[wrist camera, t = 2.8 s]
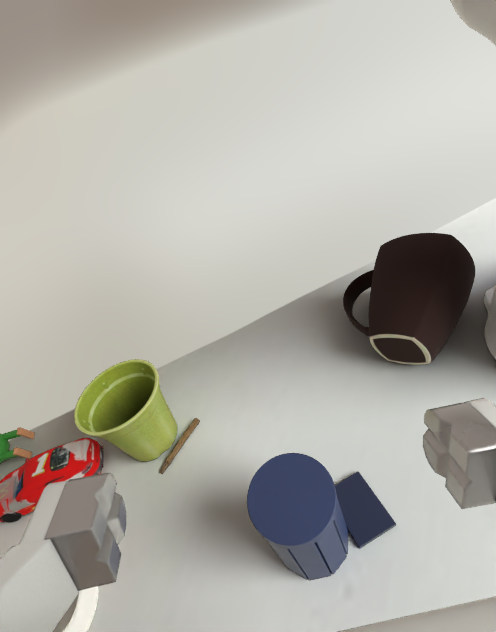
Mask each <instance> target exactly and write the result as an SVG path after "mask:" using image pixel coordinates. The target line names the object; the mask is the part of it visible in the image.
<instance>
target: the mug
mask: <svg viewBox="0 0 496 632" xmlns="http://www.w3.org/2000/svg"><path fill="white" fill-rule="evenodd" d="M474 277H475V265H474V262H473V259H472V257H471V255H470V253H469V252H468V251H467V249H466V248H465V247H464V246H463V245H462V244H461V243H460V242H459V241H458V240H457V239H456V238H455V237H453V236H452V235H448V234H440V233H420V234H411V235H406V236H402V237H399V238H396V239H393V240H391V241H389V242H387V243H385V244H383V245H382V246H381V247H380V249H379V252H378V256H377V259H376V262H375V267H374V270H372V271H369V272H367V273H365V274H363V275H361V276H359V277H358V278H356V279H355V280H354V281H353V282H352V283H351V284H350V285H349V286H348V287H347V289H346V291H345V293H344V298H343V303H344V309H345V311H346V314H347V316H348V318H349V319H350V321H351V322H352V324H353V325H354V326H355V327H356V328H357V329H358V330H360V331H361V332H362V333H364V334H365V335H366V336H368V337H369V339H370V342H371V345H372V346H373V348H374V349H375V350H376V351H377V352H378V353H379V354H380V355H381V356H382V357H384V358H385V359H386V360H388V361H393V362H397V363H403V364H414V365H418V364H429V363H431V362H432V361H433V360H434V358H435V357H436V356H437V354H438V353H439V352H440V350H441V349H442V348H443V346H444V345H445V343H446V342H447V340H448V338H449V337H450V335H451V333H452V332H453V330H454V328H455V326H456V324H457V322H458V320H459V318H460V316H461V314H462V312H463V310H464V308H465V306H466V303H467V301H468V298H469V295H470V292H471V289H472V286H473V282H474ZM370 287H371V293H370V303H369V327H365V326H363V325H361V324H359V323H358V322H357V320H356V319H355V318H354V317H353V314H352V308H353V304H354V302H355V300H356V299H357V297H358V296H359V295H360V294H361V293H362V292H363V291H365V290H366V289H368V288H370Z"/></svg>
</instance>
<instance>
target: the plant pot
mask: <svg viewBox="0 0 496 632" xmlns="http://www.w3.org/2000/svg"><path fill="white" fill-rule="evenodd" d="M74 420H75V424H76V426H77V428H78V429H79V430H80V431H81V432H83V433H84V434H87V435H90V436H97V437H100V438H104V439H105V440H107V441H109V442H110V443H112V444H113V445H115V446H116V447H118V448H119V449H121V450H122V451H124V452H125V453H127V454H128V455H130V456H131V457H133V458H135V459H136V460H139V461H151V460H154V459H156V458H158V457H159V455H160V454H162V453H163V452H164V451H166V450H168V449H169V448H170V447H171V445H172V444H173V442H174V440H175V438H176V435H177V424H176V421H175V419H174V417H173V415H172V413H171V411H170V409H169V407H168V405H167V403H166V401H165V399H164V397H163V395H162V393H161V390H160V385H159V375H158V372H157V370H156V368H155V367H154V366H153V365H152V364H151V363H150V362H148V361H145V360H138V359H135V360H128V361H124V362H121V363H119V364H116V365H114V366H112V367H110V368H108V369H107V370H105V371H104V372H102V373H101V374H99V375H98V376H97V377H96V378H95V379H94V380H93V381H92V382H91V383H90V384H89V385H88V386H87V387H86V388H85V390H84V391H83V393H82V394H81V396H80V398H79V400H78V402H77V405H76V408H75V412H74Z"/></svg>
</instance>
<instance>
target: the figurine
mask: <svg viewBox="0 0 496 632" xmlns="http://www.w3.org/2000/svg"><path fill="white" fill-rule="evenodd" d="M19 436H24V437H27V438H31V439H34V432H31V431H28V430H25V429H23V428H18V429H17V430H14V431H11V432H8V433H5V434H0V463H1V462H2V461H3V460H6V459H10V458H13V457H16V456H20V457H24V458H29V459H31V454H32V452H30V451H27V450H24V449H20V448H17V447H16V448H14V450H11V451H9V446H10V445H9V442H8V440H9V439H12V438H16V437H19Z"/></svg>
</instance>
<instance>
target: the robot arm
mask: <svg viewBox="0 0 496 632" xmlns="http://www.w3.org/2000/svg"><path fill="white" fill-rule="evenodd" d="M450 1H451V3H452V5H453V7H454V9H455V11H456V12H457V14H458V15H459V16H460V18H461V19H462V20H463V21H464V22H465V23H466V24H467V25H468V26H469V27H470V28H472V29H474V30H475V31H477V32H478V33H480V34H482V35H483V36H485V37H486V38H488V39H489V40H490V41H491V42H492V43H494V44H495V45H496V0H450ZM484 304H485V307H486V309H487V311H488V319H487V322H486V325H485V341H486V344H487V347H488V349H489V351H490V352H491V354H492V356H493V357H494V358H495V359H496V286H495V287H493V288H490V289H489V290H487V291H486V294H485V297H484ZM424 423H425V424H426V426H427V427H428V428H429V429H428V430H427V431H426V433H425V434H424V435H423V448H424V452H425V455H426V458H427V460H428V462H429V464H430V466H431V467H432V468H433V470H434V471H435V473H437V474H439V475H441V476H443V477H445V478H446V485H445V487H446V488H447V490H448V491H449V492H450V494H451V495H452V496H453V498H454V499H455V501H456V502H457V503H458V505H459V506H460V507H461V509H465V508H470V507H476V506H482V505H487V504H493V503H496V406H495V405H494V404H493V403H492V402H490V401H489V400H487V399H485V398H481V399H476V400H472V401H467V402H464V403H458V404H454V405H449V406H444V407H439V408H434V409H429V410H427V411H426V413H425V415H424ZM116 484H117V483H116V481H115V478H114V476H113V474H111V473H105V474H99V475H94V476H88V477H82V478H76V479H70V480H68V481H62V482H56V483H49V484H48V485H47V486H46V487H45V488H44V490H43V492H42V494H41V497H40V499H39V501H38V503H37V505H36V508H35V510H34V512H33V514H32V517H31V519H30V521H29V523H28V526H27V528H26V530H25V532H24V535H23V537H22V539H21V541H20V544H19V545H17V546H12V547H11V548H10V549H9V550H8V551H7V552H6V553H5V554H4V555H3V556H2V557H1V558H0V632H53V631H54V629H55V628H56V626H57V625H58V623H59V622H60V620H61V619H62V618H63V616H64V615H65V613H66V612H67V610H68V609H69V607H70V606H71V604H72V603H73V601H74V600H75V598H76V597H77V595H78V594H79V591H80V590H84V589H88V588H92V587H97V586H101V585H105V584H109V583H113V582H116V578H117V573H118V568H119V563H120V557H121V552H120V550H119V547H118V544H119V542H120V541H121V540H122V539H123V537H124V536H125V530H126V509H125V504H124V501H123V498H122V496H121V495H119V494H117V493H116V492H115V489H116ZM338 632H496V596H495V597H491V598H486V599H482V600H477V601H473V602H468V603H464V604H459V605H455V606H450V607H446V608H441V609H437V610H432V611H428V612H423V613H419V614H414V615H410V616H405V617H401V618H396V619H392V620H387V621H383V622H378V623H374V624H369V625H365V626H360V627H356V628H351V629H347V630H343V631H338Z"/></svg>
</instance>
